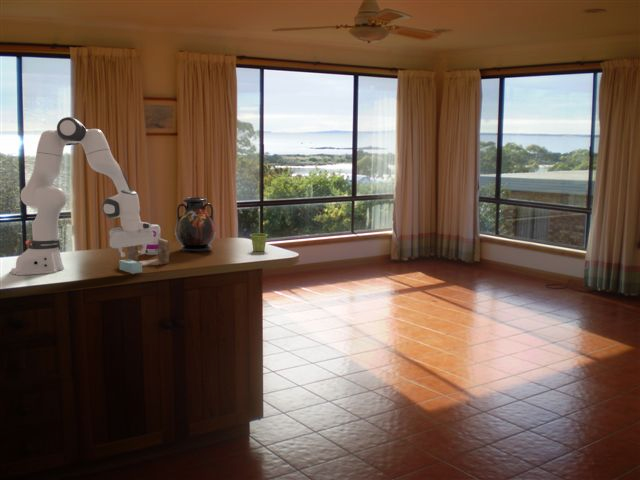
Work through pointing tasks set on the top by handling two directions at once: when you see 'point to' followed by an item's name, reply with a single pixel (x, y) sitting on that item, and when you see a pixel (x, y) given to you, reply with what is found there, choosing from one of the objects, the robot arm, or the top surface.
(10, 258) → the top surface
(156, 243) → the supplement can
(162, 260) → the peg frame
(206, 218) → the amphora vase
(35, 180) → the robot arm
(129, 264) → the light blue block
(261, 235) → the plant pot
